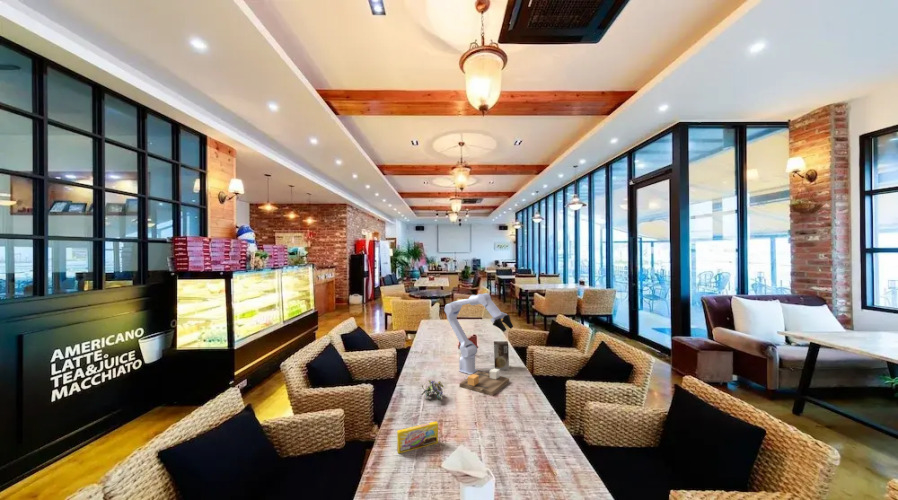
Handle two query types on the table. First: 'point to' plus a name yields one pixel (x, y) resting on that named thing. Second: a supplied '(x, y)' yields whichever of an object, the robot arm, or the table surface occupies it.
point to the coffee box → (501, 355)
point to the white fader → (494, 373)
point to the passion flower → (434, 389)
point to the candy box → (417, 437)
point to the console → (486, 384)
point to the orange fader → (473, 379)
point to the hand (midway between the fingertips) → (508, 329)
